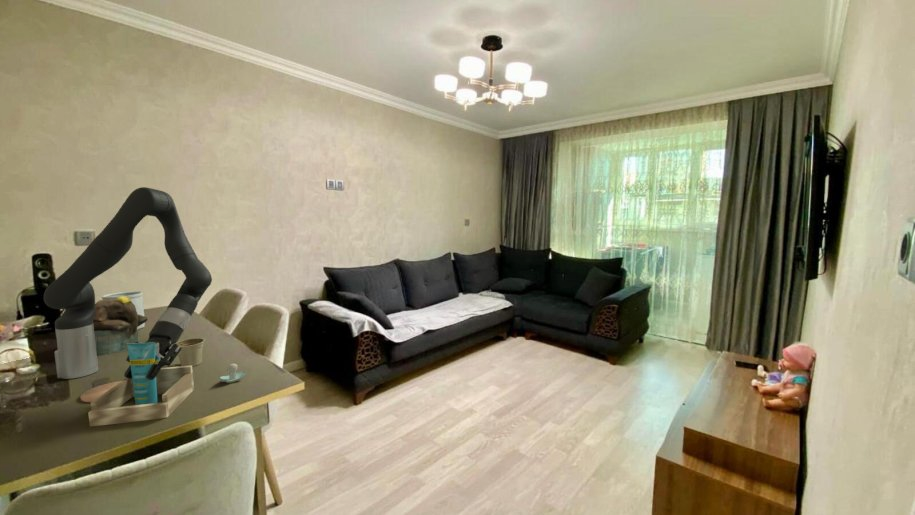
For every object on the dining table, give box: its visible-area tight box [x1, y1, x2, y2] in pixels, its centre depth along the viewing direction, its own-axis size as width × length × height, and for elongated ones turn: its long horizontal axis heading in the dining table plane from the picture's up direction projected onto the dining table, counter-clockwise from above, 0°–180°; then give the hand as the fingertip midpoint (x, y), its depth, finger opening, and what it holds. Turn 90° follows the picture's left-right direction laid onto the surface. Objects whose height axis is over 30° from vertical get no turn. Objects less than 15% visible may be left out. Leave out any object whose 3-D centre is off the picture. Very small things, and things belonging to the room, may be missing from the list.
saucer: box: [80, 380, 122, 403], centre depth 117 cm, size 13×13×1 cm
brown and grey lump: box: [93, 296, 148, 357], centre depth 154 cm, size 23×25×22 cm
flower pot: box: [175, 337, 206, 367], centre depth 138 cm, size 9×9×9 cm
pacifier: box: [219, 363, 246, 384], centre depth 125 cm, size 7×6×6 cm
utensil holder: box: [101, 290, 146, 330], centre depth 181 cm, size 15×15×18 cm
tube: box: [126, 342, 158, 405], centre depth 107 cm, size 7×5×19 cm, turn 103°
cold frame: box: [88, 365, 195, 427], centre depth 108 cm, size 17×17×8 cm
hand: (138, 378), depth 105 cm, fingers closed on tube, 6 cm apart
